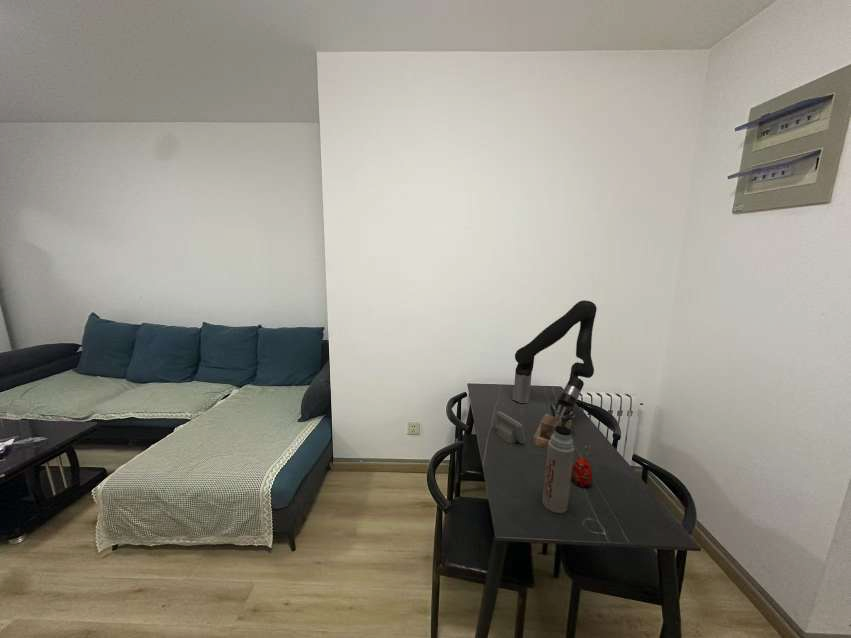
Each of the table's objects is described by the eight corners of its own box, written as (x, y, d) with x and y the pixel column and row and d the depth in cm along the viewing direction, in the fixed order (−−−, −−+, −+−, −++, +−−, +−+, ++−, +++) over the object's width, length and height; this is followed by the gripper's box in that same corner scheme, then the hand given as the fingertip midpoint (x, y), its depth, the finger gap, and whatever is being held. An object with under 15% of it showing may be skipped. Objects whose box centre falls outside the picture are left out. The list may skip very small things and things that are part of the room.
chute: (532, 444, 145) (533, 437, 145) (544, 419, 169) (544, 413, 169) (563, 453, 139) (564, 446, 138) (570, 426, 163) (571, 420, 162)
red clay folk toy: (566, 476, 124) (570, 441, 121) (581, 474, 126) (585, 439, 123) (580, 490, 117) (585, 453, 114) (596, 487, 118) (601, 450, 116)
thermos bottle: (548, 513, 105) (557, 435, 100) (538, 496, 113) (545, 423, 108) (571, 512, 106) (581, 435, 101) (559, 495, 114) (568, 422, 109)
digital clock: (527, 445, 145) (529, 423, 143) (509, 448, 142) (511, 426, 140) (507, 427, 160) (509, 407, 158) (491, 430, 157) (493, 410, 155)
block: (539, 440, 149) (541, 422, 147) (547, 432, 157) (549, 415, 155) (552, 445, 145) (554, 427, 144) (560, 436, 153) (561, 419, 151)
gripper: (554, 388, 163) (539, 418, 157) (580, 397, 153) (565, 428, 147) (558, 395, 167) (544, 424, 162) (584, 404, 157) (570, 435, 152)
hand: (554, 426), depth 155 cm, fingers closed
